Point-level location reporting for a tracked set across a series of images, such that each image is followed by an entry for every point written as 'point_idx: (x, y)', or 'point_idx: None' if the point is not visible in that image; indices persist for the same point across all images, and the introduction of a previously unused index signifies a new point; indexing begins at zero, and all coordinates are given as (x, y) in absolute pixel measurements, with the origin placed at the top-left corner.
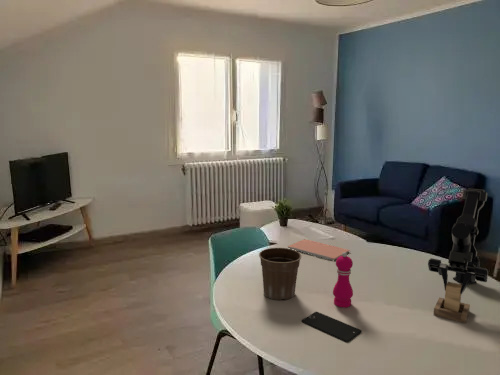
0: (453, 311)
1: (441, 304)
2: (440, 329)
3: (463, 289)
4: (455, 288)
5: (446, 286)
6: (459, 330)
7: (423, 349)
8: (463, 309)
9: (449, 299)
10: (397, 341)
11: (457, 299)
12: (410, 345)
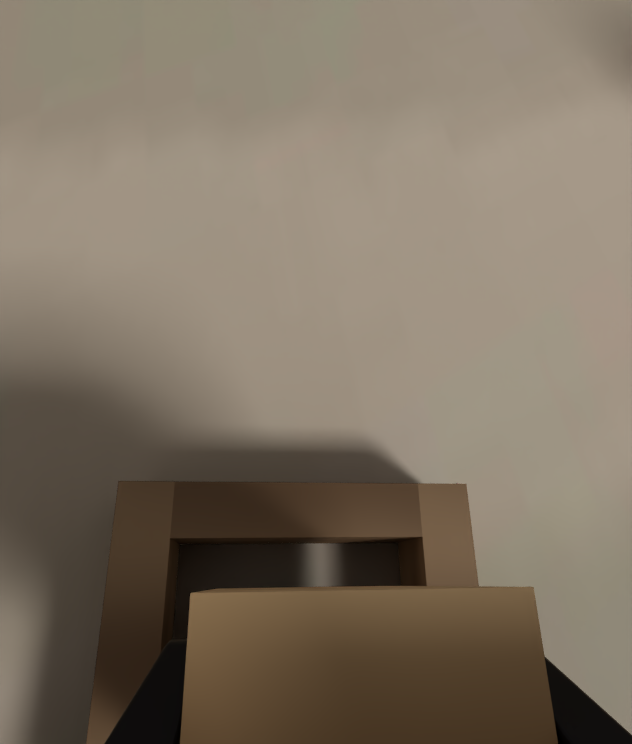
0: (265, 526)
1: None
2: (323, 268)
3: (115, 733)
4: (312, 591)
5: (519, 590)
6: (183, 325)
7: (360, 20)
8: None
9: (355, 587)
10: (500, 37)
11: (237, 589)
12: (430, 28)
